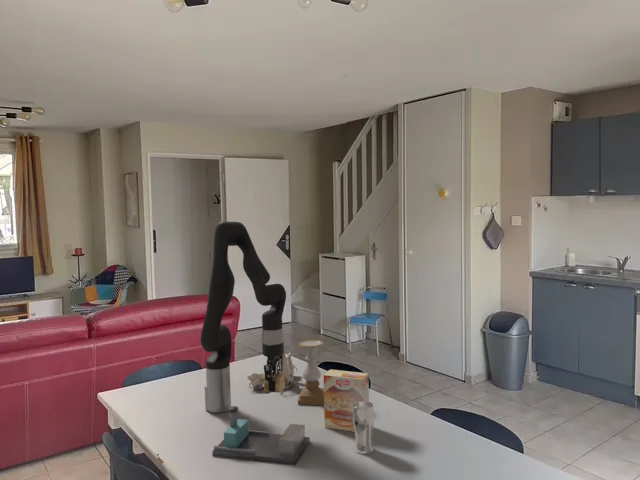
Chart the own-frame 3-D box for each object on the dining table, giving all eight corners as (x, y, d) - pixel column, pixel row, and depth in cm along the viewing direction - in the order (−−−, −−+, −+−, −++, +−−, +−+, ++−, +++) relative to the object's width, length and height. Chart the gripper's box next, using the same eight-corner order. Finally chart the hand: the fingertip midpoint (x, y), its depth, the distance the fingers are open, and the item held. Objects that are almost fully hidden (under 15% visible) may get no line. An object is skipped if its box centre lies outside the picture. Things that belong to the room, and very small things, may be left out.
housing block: (264, 391, 180) (263, 377, 180) (269, 386, 185) (268, 372, 184) (280, 392, 178) (280, 378, 178) (285, 387, 183) (284, 373, 183)
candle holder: (327, 395, 216) (325, 339, 214) (324, 405, 205) (323, 346, 203) (301, 395, 217) (299, 339, 215) (297, 405, 206) (295, 346, 205)
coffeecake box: (324, 427, 184) (322, 374, 183) (330, 420, 191) (329, 368, 190) (364, 433, 179) (363, 379, 178) (369, 425, 185) (368, 372, 184)
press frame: (212, 455, 166) (211, 436, 165) (233, 434, 181) (232, 416, 181) (295, 464, 159) (294, 444, 158) (309, 441, 174) (309, 422, 174)
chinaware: (284, 376, 247) (280, 341, 247) (312, 378, 237) (308, 343, 237) (243, 394, 224) (239, 356, 224) (271, 397, 215) (267, 358, 214)
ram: (222, 447, 167) (221, 414, 167) (236, 432, 178) (235, 401, 177) (235, 448, 166) (234, 415, 165) (248, 433, 177) (247, 402, 176)
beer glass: (351, 445, 170) (351, 401, 169) (372, 444, 171) (371, 400, 170) (355, 455, 163) (354, 409, 162) (376, 454, 164) (375, 408, 163)
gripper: (269, 335, 188) (271, 381, 189) (255, 346, 174) (257, 395, 176) (289, 336, 186) (290, 382, 188) (276, 346, 173) (278, 396, 174)
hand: (274, 388), depth 182 cm, fingers closed on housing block, 5 cm apart
